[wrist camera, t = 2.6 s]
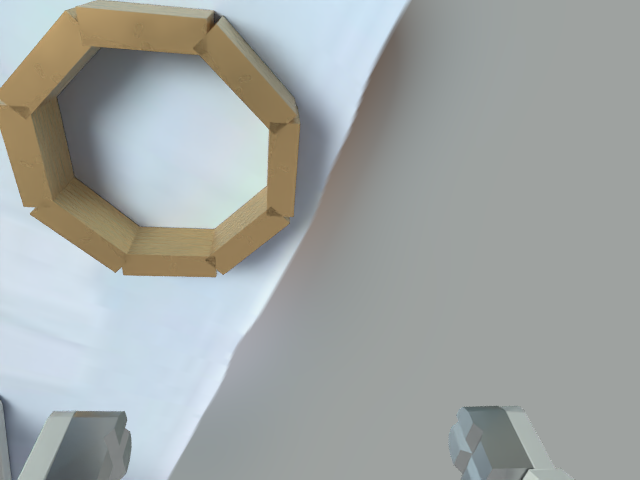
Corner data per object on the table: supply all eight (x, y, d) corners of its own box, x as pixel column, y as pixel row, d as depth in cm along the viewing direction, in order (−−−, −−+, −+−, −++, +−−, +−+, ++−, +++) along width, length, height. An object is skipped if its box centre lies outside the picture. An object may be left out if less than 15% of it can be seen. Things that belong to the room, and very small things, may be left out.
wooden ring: (287, 250, 30) (288, 278, 27) (64, 244, 28) (43, 273, 25) (303, 18, 22) (307, 27, 20) (-2, -10, 20) (-40, -4, 18)
